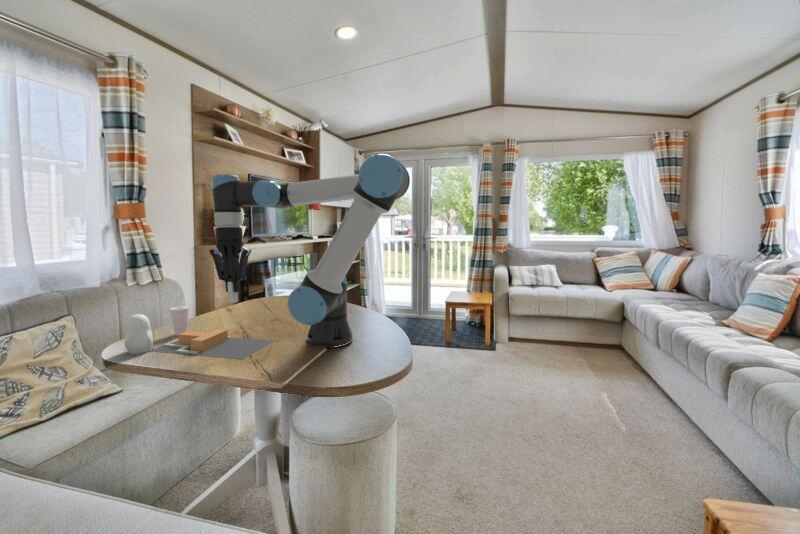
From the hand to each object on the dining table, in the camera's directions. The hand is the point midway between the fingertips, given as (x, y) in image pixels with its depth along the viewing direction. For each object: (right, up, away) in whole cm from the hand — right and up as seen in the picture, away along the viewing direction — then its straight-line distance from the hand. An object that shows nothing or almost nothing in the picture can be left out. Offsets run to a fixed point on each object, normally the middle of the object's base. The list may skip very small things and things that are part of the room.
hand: (233, 302), depth 119 cm
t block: (-12, -14, +3) cm, 19 cm away
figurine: (-29, -15, 0) cm, 33 cm away
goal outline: (-14, -14, +4) cm, 20 cm away
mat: (-7, -15, +2) cm, 17 cm away
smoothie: (-26, -13, +17) cm, 34 cm away
